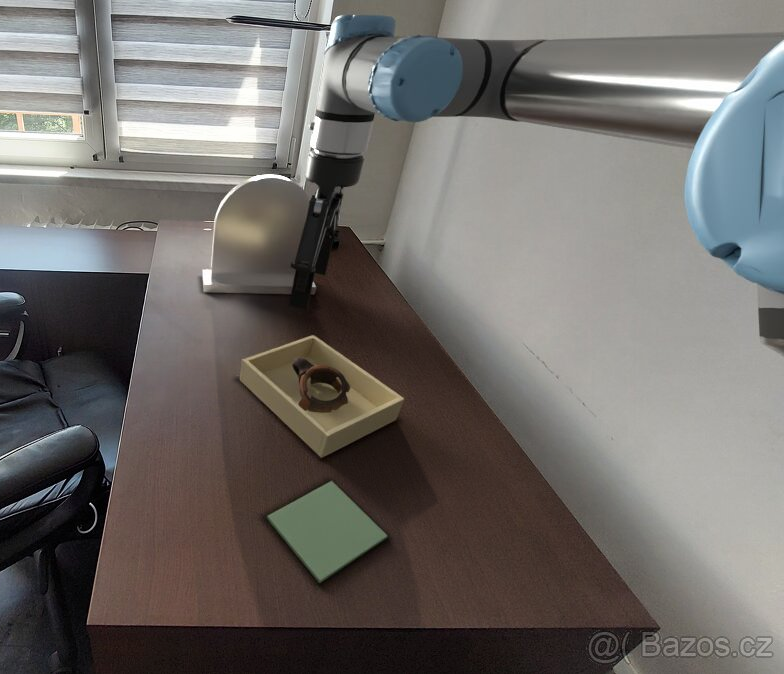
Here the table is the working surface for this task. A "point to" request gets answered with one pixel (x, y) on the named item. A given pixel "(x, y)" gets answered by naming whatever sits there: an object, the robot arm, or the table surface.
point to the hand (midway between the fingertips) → (308, 289)
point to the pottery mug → (320, 376)
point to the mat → (326, 530)
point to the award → (257, 237)
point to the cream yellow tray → (320, 395)
